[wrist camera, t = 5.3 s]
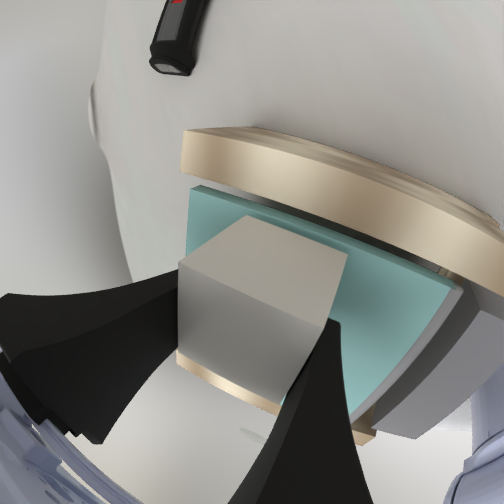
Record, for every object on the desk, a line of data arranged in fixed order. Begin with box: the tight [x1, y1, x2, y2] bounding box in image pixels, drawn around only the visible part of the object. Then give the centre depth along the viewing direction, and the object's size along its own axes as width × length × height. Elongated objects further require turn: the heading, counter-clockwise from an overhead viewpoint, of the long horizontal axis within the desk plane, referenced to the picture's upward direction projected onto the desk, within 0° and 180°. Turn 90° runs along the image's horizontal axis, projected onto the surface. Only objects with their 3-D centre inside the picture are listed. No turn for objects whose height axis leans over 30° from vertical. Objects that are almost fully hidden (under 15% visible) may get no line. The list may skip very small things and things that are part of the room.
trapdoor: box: [186, 185, 504, 439], centre depth 13 cm, size 18×12×4 cm, turn 80°
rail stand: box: [176, 127, 504, 446], centre depth 16 cm, size 17×17×7 cm
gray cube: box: [178, 215, 348, 405], centre depth 9 cm, size 4×4×4 cm
